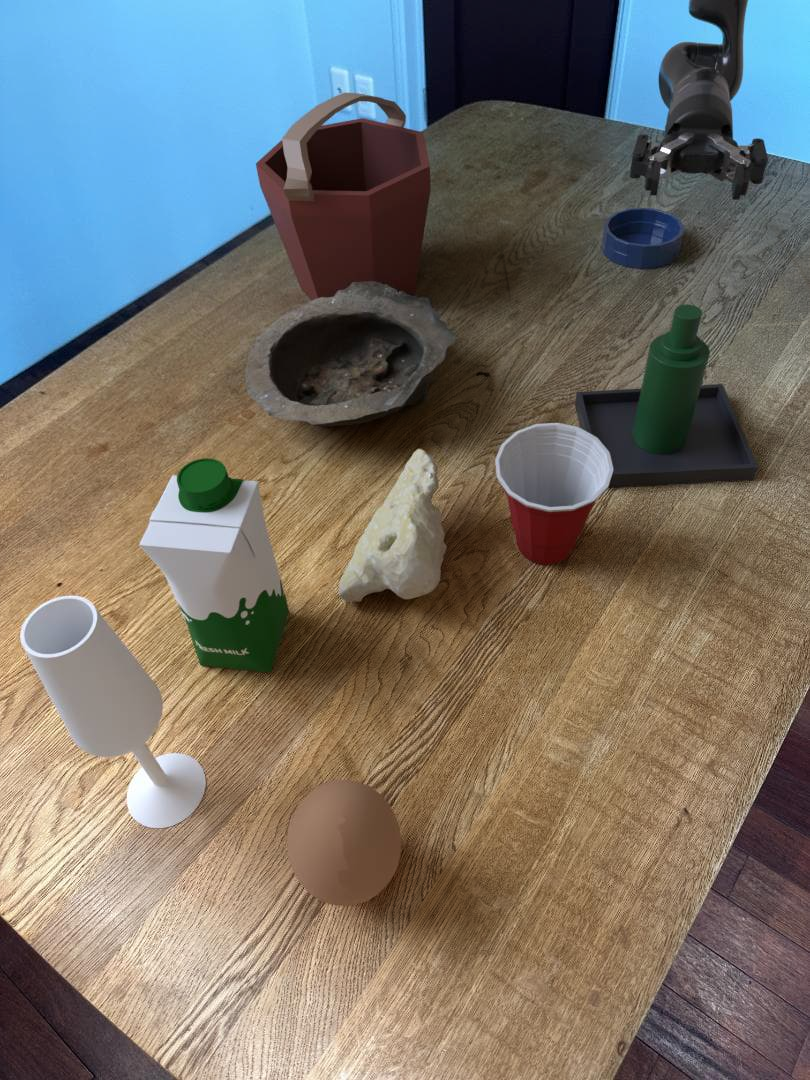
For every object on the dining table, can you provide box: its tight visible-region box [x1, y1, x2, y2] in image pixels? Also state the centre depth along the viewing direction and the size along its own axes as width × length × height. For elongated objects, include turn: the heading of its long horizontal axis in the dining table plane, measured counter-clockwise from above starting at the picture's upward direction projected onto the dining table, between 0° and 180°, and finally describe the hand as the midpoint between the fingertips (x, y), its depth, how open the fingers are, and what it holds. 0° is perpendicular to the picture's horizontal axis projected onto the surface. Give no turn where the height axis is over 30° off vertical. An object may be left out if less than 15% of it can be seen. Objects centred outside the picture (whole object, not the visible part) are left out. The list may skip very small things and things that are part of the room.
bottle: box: [632, 304, 711, 454], centre depth 87 cm, size 6×6×16 cm
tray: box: [574, 383, 759, 488], centre depth 92 cm, size 17×14×2 cm
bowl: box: [601, 207, 685, 270], centre depth 118 cm, size 11×11×4 cm
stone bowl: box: [244, 281, 457, 427], centre depth 99 cm, size 25×25×9 cm
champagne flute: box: [19, 595, 207, 829], centre depth 60 cm, size 7×7×24 cm
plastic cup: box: [494, 422, 614, 566], centre depth 79 cm, size 11×11×12 cm
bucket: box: [255, 92, 432, 302], centre depth 109 cm, size 24×22×25 cm
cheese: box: [338, 448, 448, 603], centre depth 81 cm, size 15×7×15 cm
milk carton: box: [139, 457, 290, 674], centre depth 71 cm, size 9×9×20 cm
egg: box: [286, 779, 402, 907], centre depth 59 cm, size 8×8×11 cm
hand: (696, 189), depth 87 cm, fingers open, 8 cm apart
